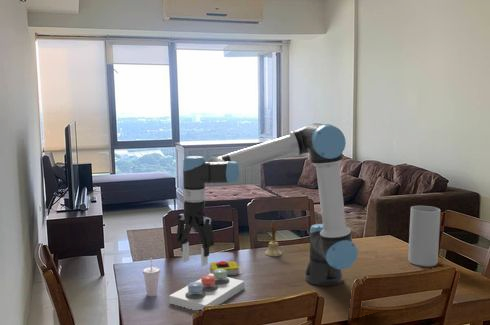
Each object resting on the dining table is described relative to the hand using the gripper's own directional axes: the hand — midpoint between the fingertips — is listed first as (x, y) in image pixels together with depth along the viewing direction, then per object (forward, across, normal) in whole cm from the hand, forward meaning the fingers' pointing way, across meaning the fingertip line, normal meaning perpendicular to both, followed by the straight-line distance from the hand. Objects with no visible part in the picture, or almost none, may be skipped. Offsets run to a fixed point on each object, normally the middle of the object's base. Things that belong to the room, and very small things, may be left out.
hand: (195, 262), depth 170 cm
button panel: (+15, 0, +8) cm, 17 cm away
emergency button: (+16, -9, +33) cm, 38 cm away
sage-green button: (+10, 0, +16) cm, 19 cm away
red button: (+10, 0, +8) cm, 13 cm away
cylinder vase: (+15, +62, +89) cm, 110 cm away
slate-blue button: (+10, 0, 0) cm, 10 cm away
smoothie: (+15, -19, -2) cm, 25 cm away
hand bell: (+15, -2, +65) cm, 67 cm away
